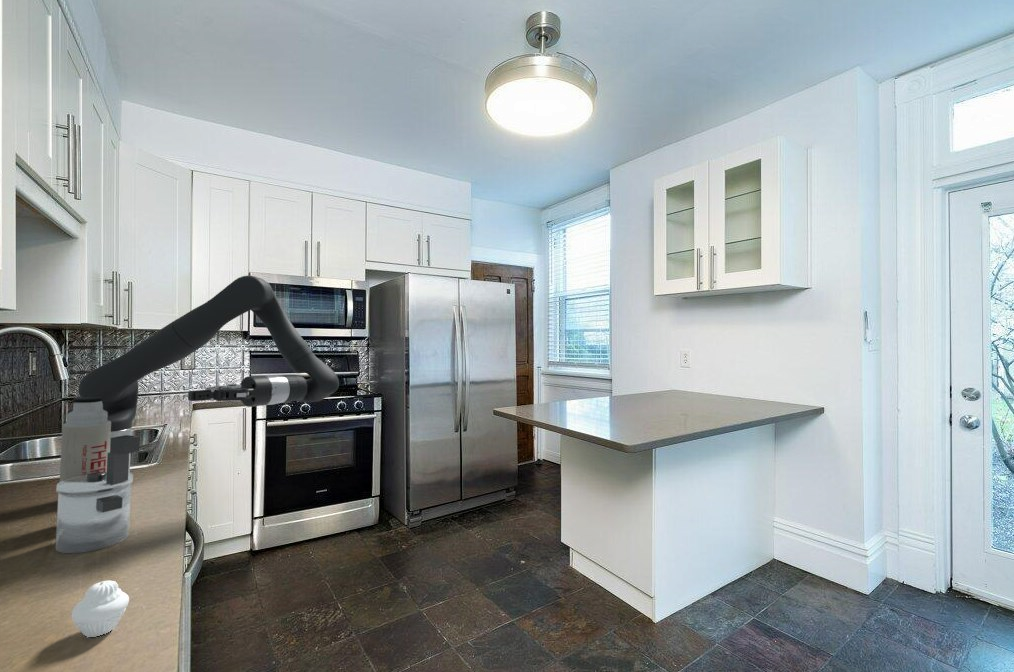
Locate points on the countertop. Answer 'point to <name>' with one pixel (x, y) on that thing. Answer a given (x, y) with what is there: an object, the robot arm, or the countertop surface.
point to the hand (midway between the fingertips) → (189, 396)
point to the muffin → (100, 609)
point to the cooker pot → (92, 520)
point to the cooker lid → (115, 470)
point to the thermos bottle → (85, 439)
